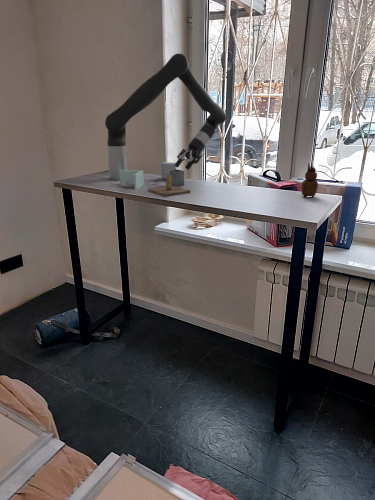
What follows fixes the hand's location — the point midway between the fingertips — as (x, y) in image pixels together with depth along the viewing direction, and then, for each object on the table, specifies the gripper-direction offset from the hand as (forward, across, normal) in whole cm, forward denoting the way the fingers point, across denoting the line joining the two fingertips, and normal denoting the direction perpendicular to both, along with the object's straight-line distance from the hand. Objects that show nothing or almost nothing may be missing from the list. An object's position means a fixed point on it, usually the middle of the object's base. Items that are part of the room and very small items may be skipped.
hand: (181, 167), depth 185 cm
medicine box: (+4, -15, +8) cm, 18 cm away
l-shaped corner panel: (+24, -11, -11) cm, 28 cm away
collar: (+8, 0, +4) cm, 9 cm away
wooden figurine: (-14, +55, +27) cm, 63 cm away
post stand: (+17, +11, -5) cm, 21 cm away
